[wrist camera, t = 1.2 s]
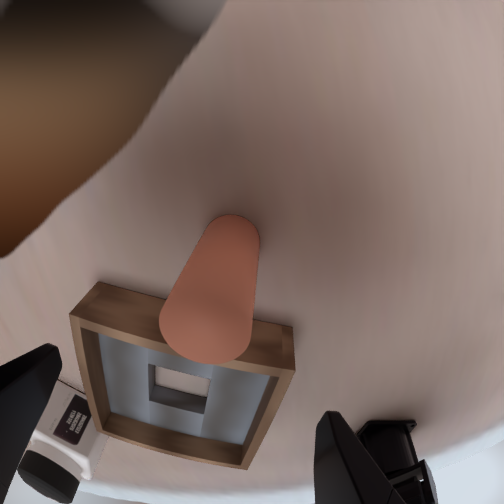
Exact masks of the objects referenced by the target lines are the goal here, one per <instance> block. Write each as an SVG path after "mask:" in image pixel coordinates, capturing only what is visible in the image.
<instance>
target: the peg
mask: <svg viewBox="0 0 504 504" xmlns="http://www.w3.org/2000/svg"><path fill="white" fill-rule="evenodd" d="M259 248H260V238H259V234H258V232H257V230H256V228H255V227H254V225H253V224H252V223H251V222H250V221H248V220H247V219H245V218H243V217H241V216H237V215H223V216H220V217H218V218H216V219H214V220H213V221H212V222H211V223H210V224H209V225H208V226H207V228H206V230H205V231H204V233H203V235H202V237H201V238H200V240H199V242H198V244H197V245H196V247H195V249H194V251H193V253H192V254H191V256H190V258H189V260H188V261H187V263H186V265H185V267H184V269H183V271H182V272H181V274H180V276H179V278H178V280H177V281H176V283H175V285H174V287H173V289H172V291H171V293H170V294H169V296H168V298H167V300H166V302H165V304H164V306H163V308H162V309H161V312H160V315H159V327H160V331H161V334H162V336H163V338H164V339H165V341H166V342H167V344H168V345H169V346H170V347H171V348H172V349H173V350H174V351H176V352H177V353H178V354H180V355H181V356H183V357H185V358H187V359H189V360H192V361H195V362H198V363H203V364H221V363H226V362H229V361H231V360H234V359H236V358H237V357H239V356H240V355H241V354H242V353H243V352H244V351H245V350H246V349H247V347H248V345H249V343H250V339H251V332H252V322H253V311H254V301H255V290H256V280H257V269H258V258H259Z"/></svg>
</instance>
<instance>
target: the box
mask: <svg viewBox="0 0 504 504" xmlns="http://www.w3.org/2000/svg"><path fill="white" fill-rule="evenodd" d="M165 302H166V300H164V299H160V298H157V297H153V296H149V295H145V294H141V293H137V292H134V291H130V290H126V289H123V288H119V287H115V286H112V285H108V284H105V283H101V282H97V283H96V284H95V285H94V287H93V288H92V289H91V290H90V291H89V292H88V293H87V294H86V295H85V296H84V298H83V299H82V300H81V301H80V302H79V303H78V304H77V305H76V306H75V308H74V309H73V310H72V311H71V312H70V313H69V317H70V324H71V330H72V335H73V341H74V346H75V351H76V356H77V361H78V365H79V370H80V374H81V378H82V382H83V386H84V390H85V394H86V398H87V401H88V405H89V408H90V412H91V415H92V418H93V422H94V425H95V428H96V431H97V432H100V433H103V434H105V435H108V436H111V437H113V438H116V439H119V440H122V441H125V442H128V443H131V444H134V445H137V446H140V447H144V448H147V449H150V450H154V451H157V452H161V453H165V454H169V455H172V456H176V457H181V458H185V459H189V460H194V461H198V462H203V463H208V464H213V465H219V466H225V467H231V468H237V469H244V470H247V469H248V467H249V466H250V464H251V462H252V460H253V458H254V456H255V454H256V452H257V450H258V448H259V447H260V445H261V443H262V441H263V439H264V437H265V435H266V433H267V431H268V429H269V427H270V425H271V423H272V421H273V418H274V416H275V414H276V412H277V410H278V408H279V406H280V404H281V402H282V400H283V397H284V395H285V393H286V391H287V389H288V387H289V384H290V382H291V380H292V378H293V375H294V373H295V371H296V370H295V356H294V342H293V329H292V327H288V326H283V325H278V324H272V323H267V322H262V321H257V320H253V322H252V332H251V339H250V343H249V345H248V347H247V349H246V350H245V351H244V352H243V353H242V354H241V355H240V356H239V357H237V358H236V359H234V360H231V361H229V362H226V363H221V364H203V363H198V362H195V361H192V360H189V359H187V358H185V357H183V356H181V355H180V354H178V353H177V352H176V351H174V350H173V349H172V348H171V347H170V346H169V345H168V344H167V342H166V341H165V339H164V338H163V336H162V334H161V331H160V327H159V315H160V312H161V309H162V308H163V306H164V304H165ZM155 365H156V366H159V367H163V368H167V369H170V370H174V371H178V372H182V373H186V374H190V375H194V376H199V377H203V378H208V379H211V381H210V386H209V391H208V397H207V398H205V397H201V396H196V395H192V394H188V393H184V392H180V391H176V390H172V389H168V388H164V387H161V386H157V385H155Z"/></svg>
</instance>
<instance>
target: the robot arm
mask: <svg viewBox="0 0 504 504" xmlns="http://www.w3.org/2000/svg"><path fill="white" fill-rule="evenodd" d="M61 369H62V360H61V357H60V353H59V349H58V347H57V346H55V345H52V344H50V343H46V344H44V345H42V346H40V347H38V348H36V349H34V350H32V351H30V352H28V353H26V354H24V355H22V356H20V357H18V358H16V359H14V360H12V361H10V362H8V363H6V364H4V365H2V366H0V504H3V502H4V500H5V497H6V495H7V492H8V489H9V486H10V484H11V481H12V479H13V477H14V474H15V472H16V469H17V467H18V465H19V463H20V460H21V458H22V456H23V453H24V451H25V449H26V447H27V445H28V443H29V440H30V438H31V436H32V434H33V432H34V430H35V428H36V426H37V424H38V422H39V420H40V418H41V416H42V414H43V412H44V410H45V408H46V406H47V404H48V402H49V399H50V397H51V394H52V392H53V389H54V386H55V384H56V381H57V379H58V377H59V374H60V372H61ZM416 425H417V423H416V421H370V422H367V423H366V425H365V426H364V427H363V428H362V429H361V431H360V432H359V433H358V434H357V436H356V435H355V434H354V432H353V431H352V429H351V428H350V427H349V425H348V424H347V422H346V421H345V420H344V418H343V417H342V415H341V414H340V413H339V412H337V411H326V412H325V413H324V415H323V416H322V418H321V420H320V421H319V423H318V424H317V427H316V439H315V455H314V488H315V504H438V499H437V493H436V486H435V483H434V480H433V477H432V473H431V470H430V468H429V467H428V465H427V463H426V461H425V460H424V459H423V460H421V461H419V462H418V458H417V455H416V452H415V448H414V445H413V442H412V439H411V435H410V432H411V431H412V430H413V429H414V427H415V426H416ZM422 479H423V480H424V481H421V482H420V481H419V480H422Z"/></svg>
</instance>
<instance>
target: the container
mask: <svg viewBox="0 0 504 504" xmlns="http://www.w3.org/2000/svg"><path fill="white" fill-rule="evenodd" d="M108 438H109V436H108V435H105V434H103V433H100V432H97V431H96V428H95V425H94V422H93V418H92V415H91V412H90V408H89V405H88V401H87V398H86V395H85V394H83V393H81V392H79V391H77V390H75V389H73V388H71V387H69V386H67V385H66V384H64V383H62V382H60V381H58V380H57V381H56V384H55V386H54V389H53V392H52V394H51V397H50V399H49V402H48V404H47V406H46V408H45V410H44V412H43V414H42V416H41V418H40V420H39V422H38V424H37V426H36V428H35V430H34V432H33V434H32V436H31V438H30V440H31V442H32V444H31V445H29V447H28V449H27V451H26V453H25V455H24V456H23V458H22V460H21V462H20V464H19V466H18V468H17V471H18V474H19V475H20V477H21V478H22V479H23V481H24V482H25V483H27V484H28V485H29V486H30V487H32V488H33V489H35V490H36V491H37V492H39V493H41V494H42V495H44V496H46V497H48V498H49V499H51V500H53V501H56V502H59V503H64V504H69V503H72V501H73V498H74V496H75V493H76V491H77V488H78V486H79V483H80V481H81V479H82V477H83V478H85V479H87V480H91V479H92V477H93V474H94V472H95V469H96V467H97V464H98V462H99V459H100V457H101V455H102V452H103V450H104V447H105V445H106V443H107V440H108Z"/></svg>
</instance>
